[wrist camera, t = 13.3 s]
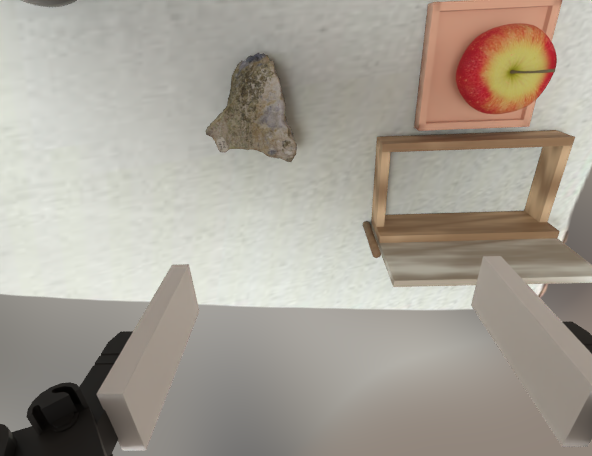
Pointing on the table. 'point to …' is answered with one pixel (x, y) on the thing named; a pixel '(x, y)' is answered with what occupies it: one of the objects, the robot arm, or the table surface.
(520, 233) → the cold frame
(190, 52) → the table surface
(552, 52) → the apple
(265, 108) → the rock
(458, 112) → the dish
